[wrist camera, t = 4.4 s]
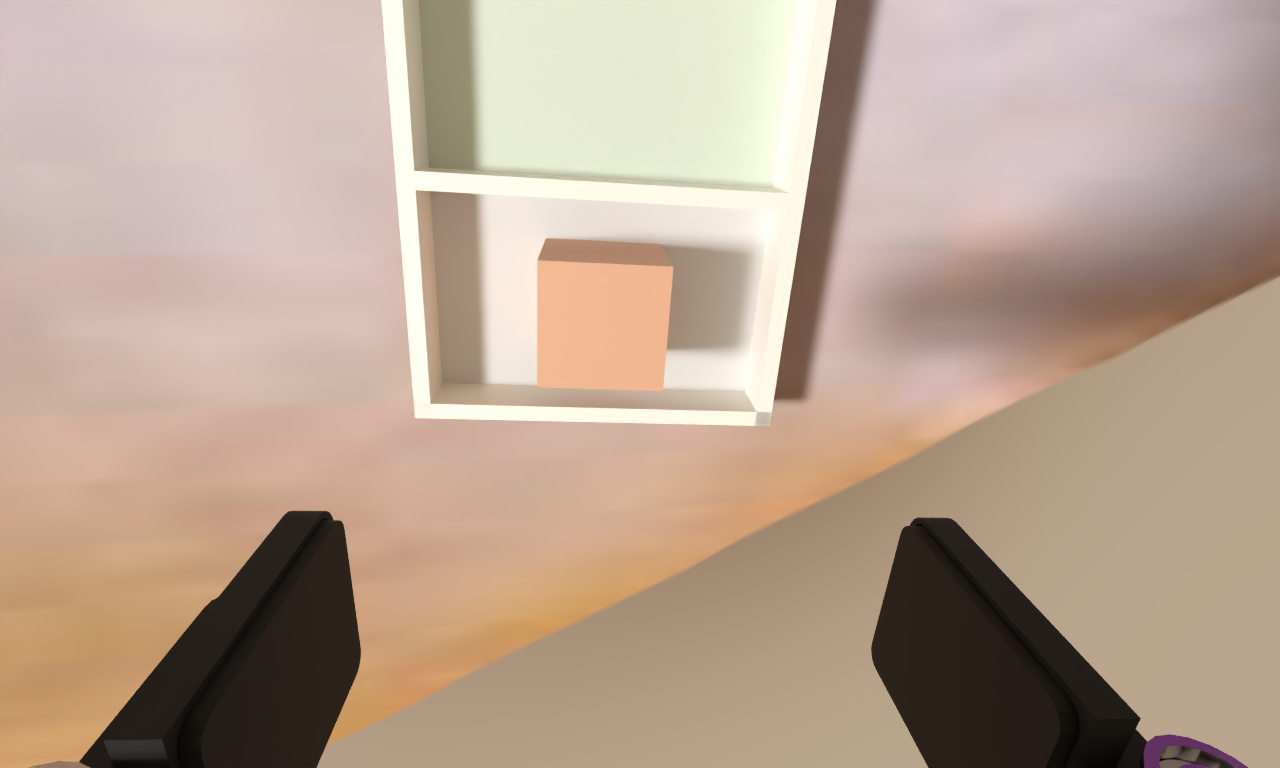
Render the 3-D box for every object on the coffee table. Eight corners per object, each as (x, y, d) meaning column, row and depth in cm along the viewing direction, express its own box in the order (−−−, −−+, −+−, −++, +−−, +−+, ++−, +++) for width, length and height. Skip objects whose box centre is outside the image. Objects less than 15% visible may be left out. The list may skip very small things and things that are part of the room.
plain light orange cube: (545, 238, 27) (537, 260, 22) (658, 244, 28) (673, 266, 23) (545, 346, 29) (537, 387, 24) (651, 350, 29) (663, 390, 25)
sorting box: (396, -115, 22) (369, -150, 20) (821, -72, 24) (851, -98, 21) (430, 391, 30) (414, 417, 27) (753, 400, 32) (769, 425, 29)
